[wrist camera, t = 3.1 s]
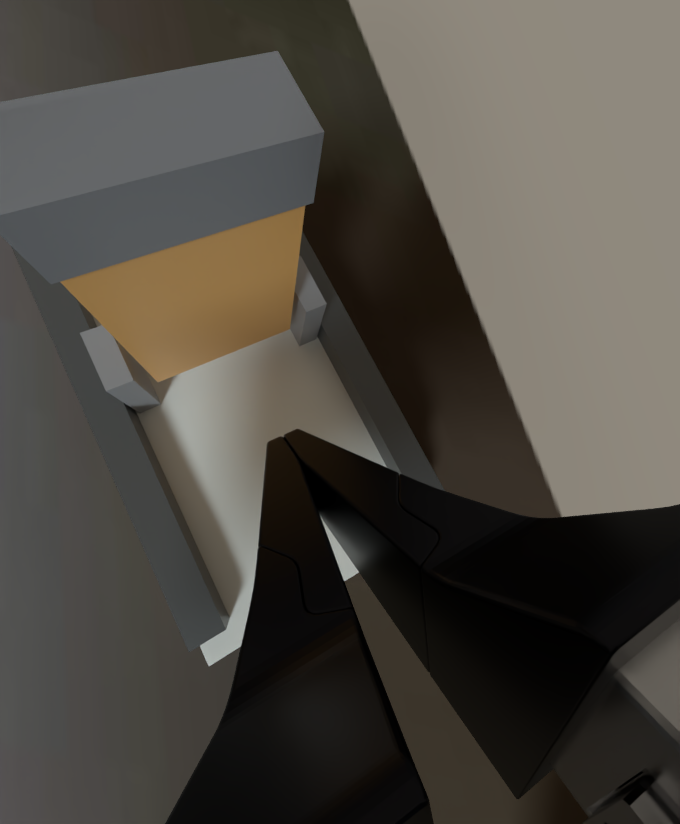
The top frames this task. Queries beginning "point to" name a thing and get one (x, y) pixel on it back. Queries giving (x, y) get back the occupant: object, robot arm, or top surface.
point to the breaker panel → (224, 439)
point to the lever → (167, 203)
